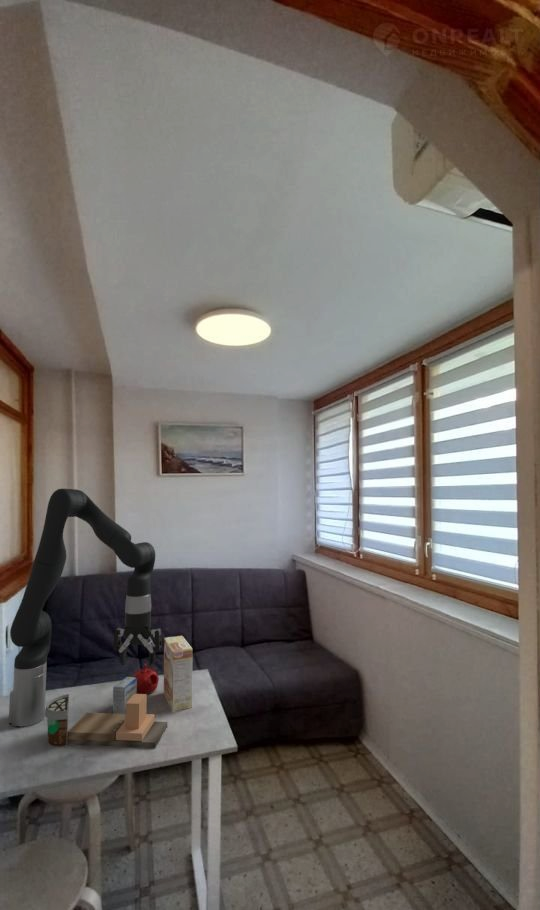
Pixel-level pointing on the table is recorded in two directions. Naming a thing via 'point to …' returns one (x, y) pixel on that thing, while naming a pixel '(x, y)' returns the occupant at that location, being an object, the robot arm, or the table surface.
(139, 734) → the stub
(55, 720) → the food container
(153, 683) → the pomegranate
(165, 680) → the coffeecake box
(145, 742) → the board
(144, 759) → the table surface
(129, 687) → the medicine box
